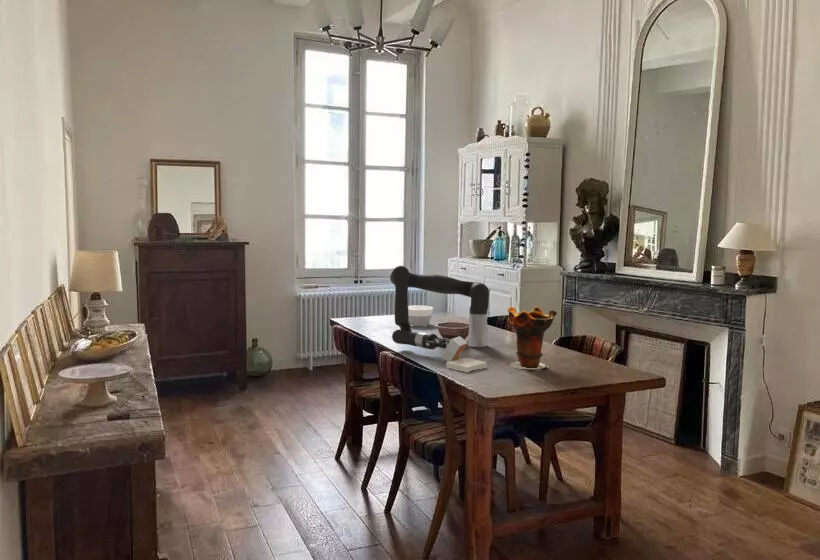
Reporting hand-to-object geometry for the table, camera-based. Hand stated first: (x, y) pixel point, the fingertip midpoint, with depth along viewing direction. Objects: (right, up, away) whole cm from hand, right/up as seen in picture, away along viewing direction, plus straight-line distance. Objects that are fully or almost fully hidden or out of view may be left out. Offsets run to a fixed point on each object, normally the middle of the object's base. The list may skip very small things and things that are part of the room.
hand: (451, 344), depth 306 cm
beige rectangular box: (+6, -9, -10) cm, 15 cm away
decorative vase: (+35, -10, -5) cm, 36 cm away
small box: (-1, -7, +2) cm, 7 cm away
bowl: (-15, +2, +98) cm, 99 cm away
